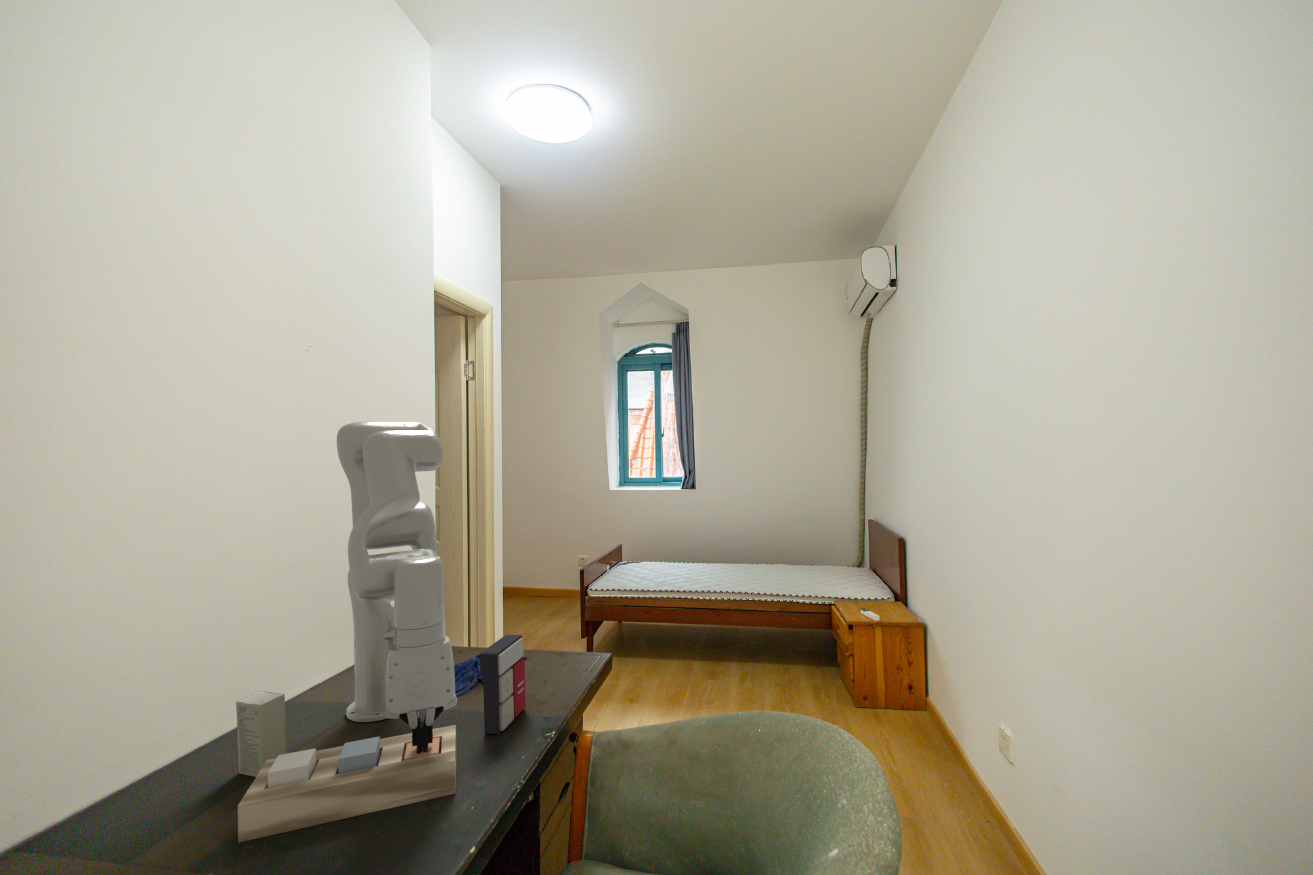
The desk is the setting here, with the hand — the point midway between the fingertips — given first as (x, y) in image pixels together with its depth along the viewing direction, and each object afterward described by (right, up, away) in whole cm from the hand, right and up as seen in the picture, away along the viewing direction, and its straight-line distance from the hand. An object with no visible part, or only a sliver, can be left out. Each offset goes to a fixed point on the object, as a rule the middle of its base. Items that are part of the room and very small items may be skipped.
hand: (422, 748), depth 88 cm
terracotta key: (0, -3, 0) cm, 3 cm away
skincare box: (-29, -6, +4) cm, 30 cm away
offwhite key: (-17, -1, -6) cm, 18 cm away
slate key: (-9, -1, -3) cm, 9 cm away
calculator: (+8, -6, +19) cm, 21 cm away
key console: (-8, -5, -3) cm, 10 cm away
